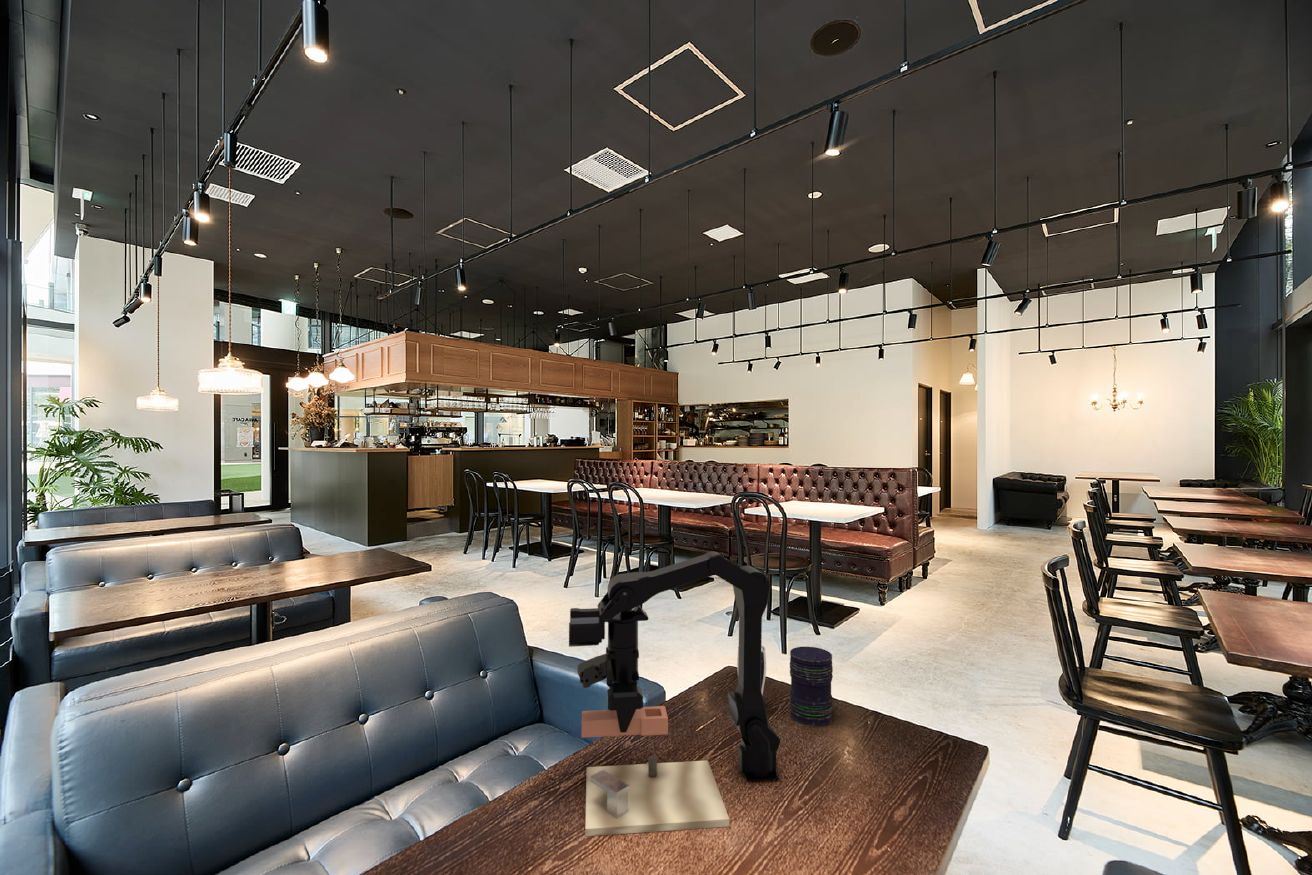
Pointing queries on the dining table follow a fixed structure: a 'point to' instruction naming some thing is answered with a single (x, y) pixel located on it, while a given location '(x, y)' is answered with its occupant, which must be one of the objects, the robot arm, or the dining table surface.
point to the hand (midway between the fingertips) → (622, 726)
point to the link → (641, 723)
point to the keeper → (613, 792)
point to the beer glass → (763, 666)
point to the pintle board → (657, 799)
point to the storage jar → (811, 686)
